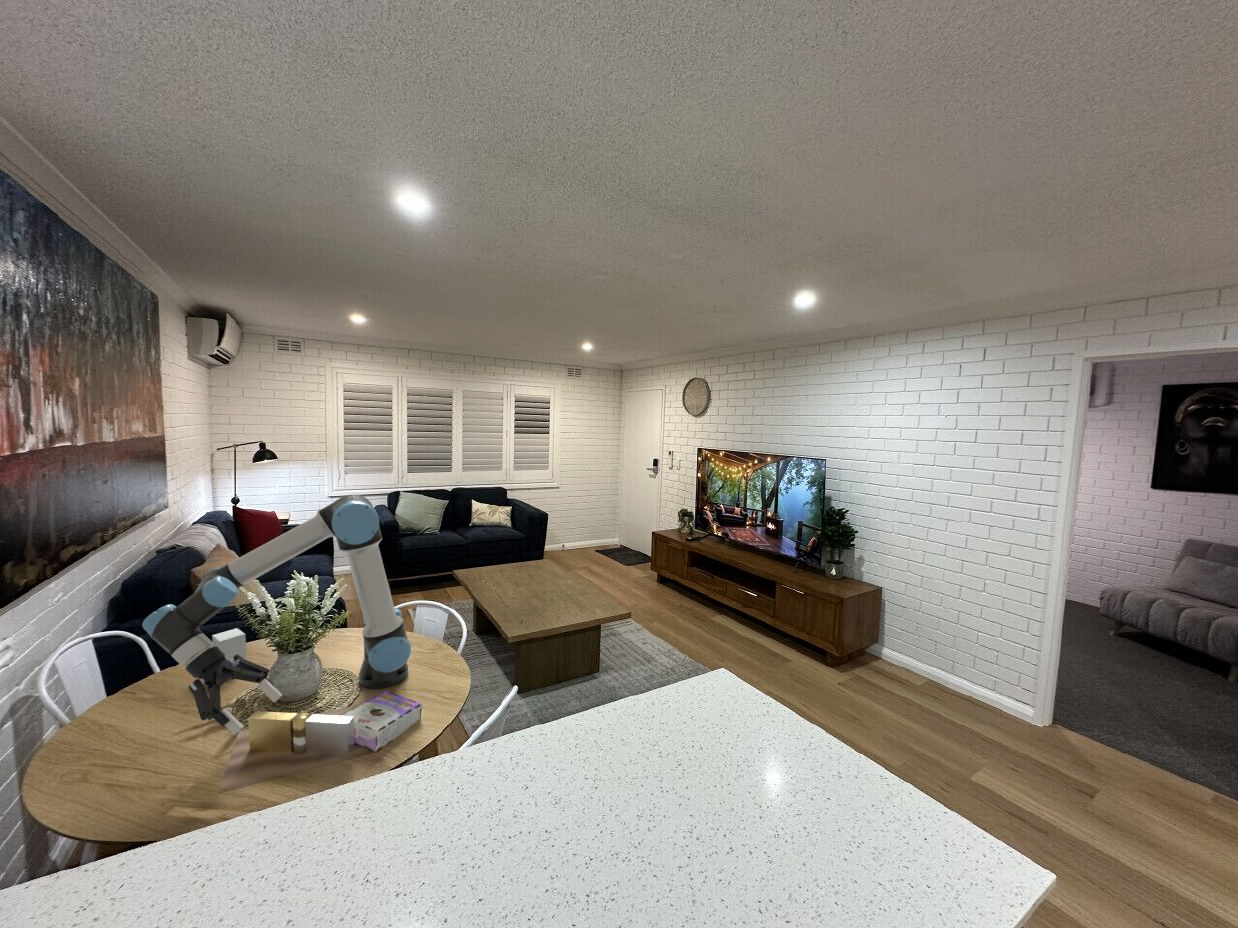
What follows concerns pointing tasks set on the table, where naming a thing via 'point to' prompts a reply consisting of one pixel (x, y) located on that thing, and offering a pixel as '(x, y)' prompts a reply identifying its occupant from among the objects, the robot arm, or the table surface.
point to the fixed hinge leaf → (326, 736)
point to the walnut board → (275, 760)
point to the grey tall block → (231, 643)
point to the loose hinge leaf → (275, 730)
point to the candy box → (383, 719)
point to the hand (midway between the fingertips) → (259, 713)
